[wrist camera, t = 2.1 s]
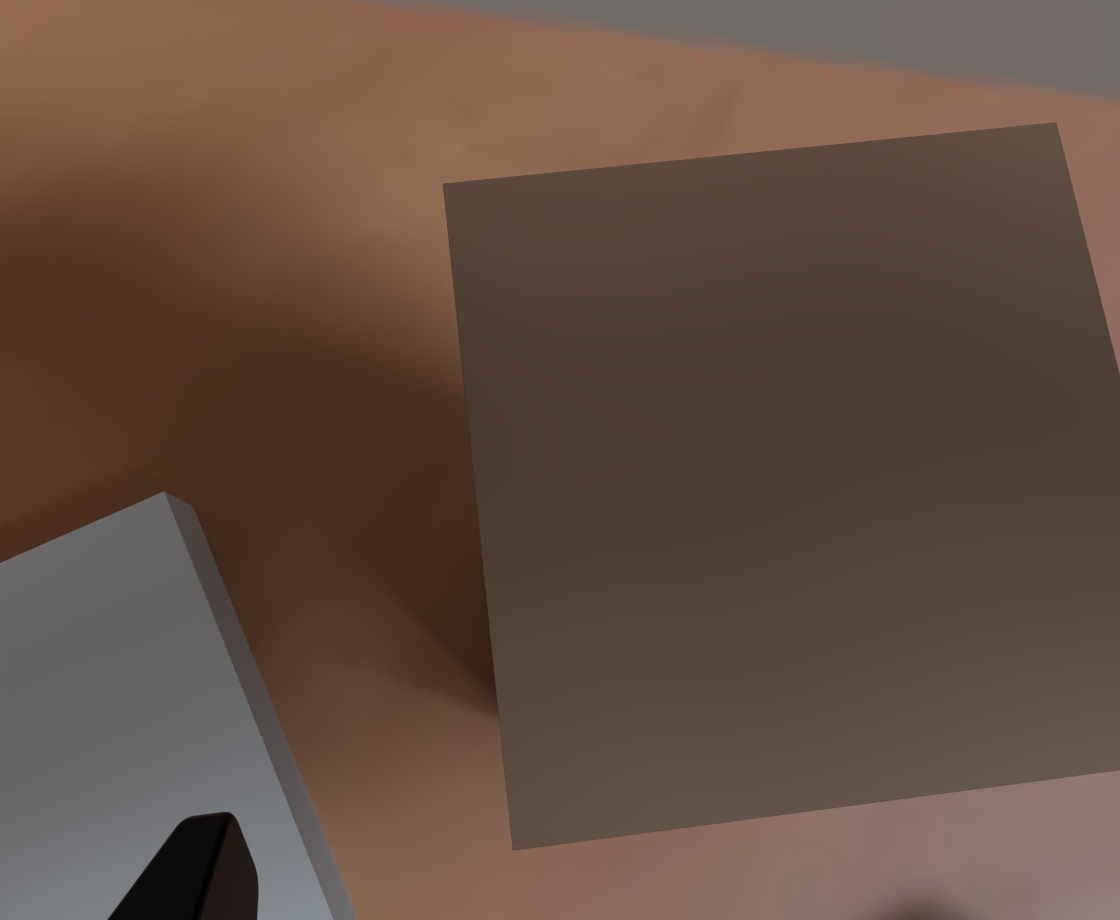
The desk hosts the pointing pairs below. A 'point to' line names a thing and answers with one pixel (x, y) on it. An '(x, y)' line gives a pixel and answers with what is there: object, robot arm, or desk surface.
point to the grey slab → (139, 724)
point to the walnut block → (790, 479)
